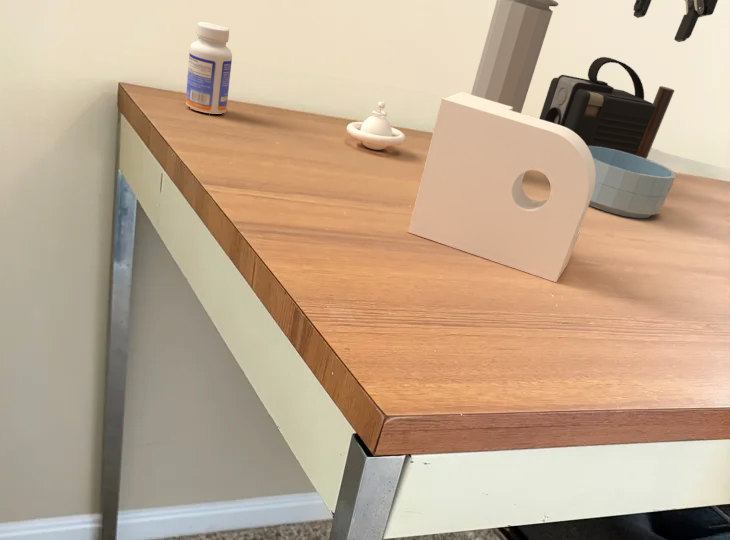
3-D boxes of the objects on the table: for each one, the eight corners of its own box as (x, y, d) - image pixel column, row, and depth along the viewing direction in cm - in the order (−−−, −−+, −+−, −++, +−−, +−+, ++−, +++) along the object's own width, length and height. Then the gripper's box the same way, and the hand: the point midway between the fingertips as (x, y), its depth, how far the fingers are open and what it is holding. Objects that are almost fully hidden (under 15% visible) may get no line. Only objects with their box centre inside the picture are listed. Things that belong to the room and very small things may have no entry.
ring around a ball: (408, 160, 109) (395, 144, 115) (417, 113, 106) (404, 99, 112) (349, 152, 108) (340, 136, 114) (357, 104, 104) (347, 90, 110)
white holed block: (407, 232, 85) (441, 98, 77) (436, 211, 93) (470, 88, 85) (555, 282, 82) (606, 148, 74) (572, 256, 90) (620, 133, 82)
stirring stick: (635, 164, 140) (666, 86, 132) (651, 172, 137) (684, 93, 130) (618, 162, 138) (649, 83, 131) (634, 170, 135) (667, 90, 128)
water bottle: (505, 179, 112) (574, -41, 97) (449, 165, 112) (510, -57, 97) (504, 164, 119) (569, -43, 104) (451, 151, 119) (508, -58, 104)
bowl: (613, 189, 121) (629, 149, 118) (677, 222, 112) (696, 180, 109) (545, 183, 115) (559, 142, 112) (607, 218, 106) (625, 174, 103)
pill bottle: (214, 105, 112) (223, 23, 107) (233, 117, 109) (242, 33, 103) (178, 102, 110) (184, 18, 104) (195, 114, 106) (203, 28, 100)
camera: (518, 152, 128) (553, 42, 119) (591, 162, 133) (629, 58, 124) (553, 174, 121) (593, 59, 112) (629, 184, 126) (673, 75, 117)
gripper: (690, -124, 115) (640, 4, 120) (760, -74, 121) (710, 45, 126) (655, -108, 122) (609, 12, 126) (723, -62, 127) (676, 51, 132)
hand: (659, 28), depth 126 cm, fingers open, 8 cm apart
